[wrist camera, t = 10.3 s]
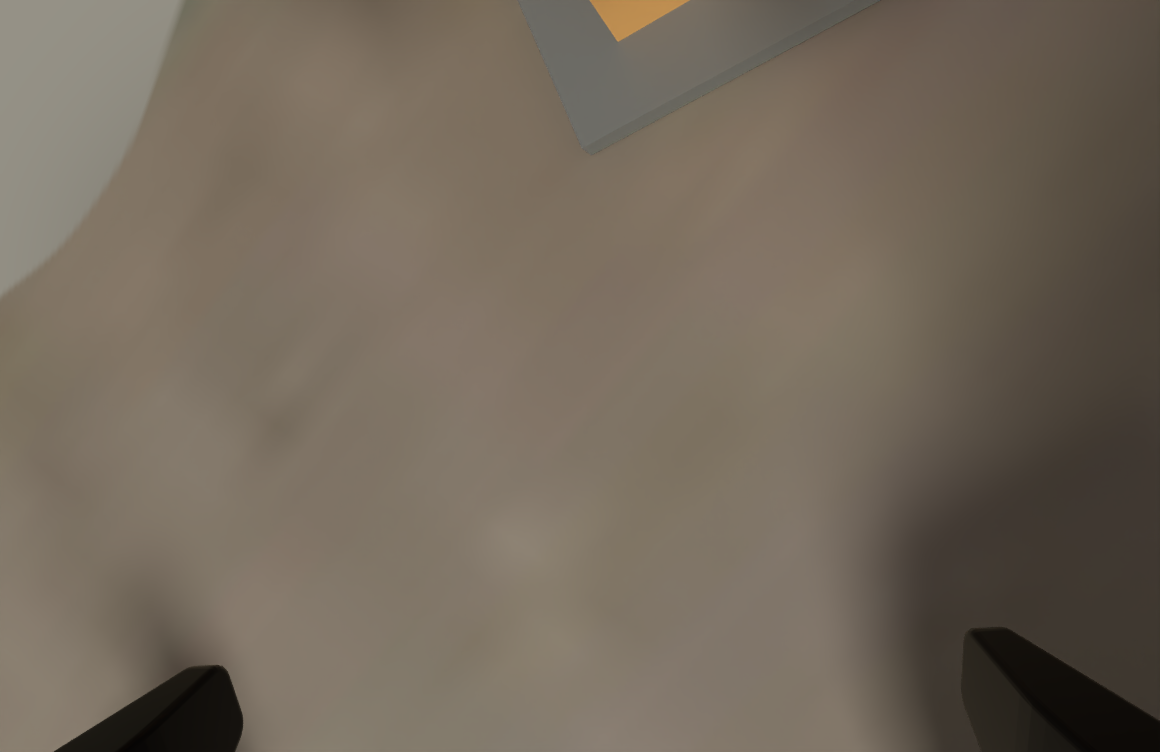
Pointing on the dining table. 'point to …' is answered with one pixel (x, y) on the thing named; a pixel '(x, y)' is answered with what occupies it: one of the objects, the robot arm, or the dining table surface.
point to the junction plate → (663, 55)
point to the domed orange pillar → (632, 14)
